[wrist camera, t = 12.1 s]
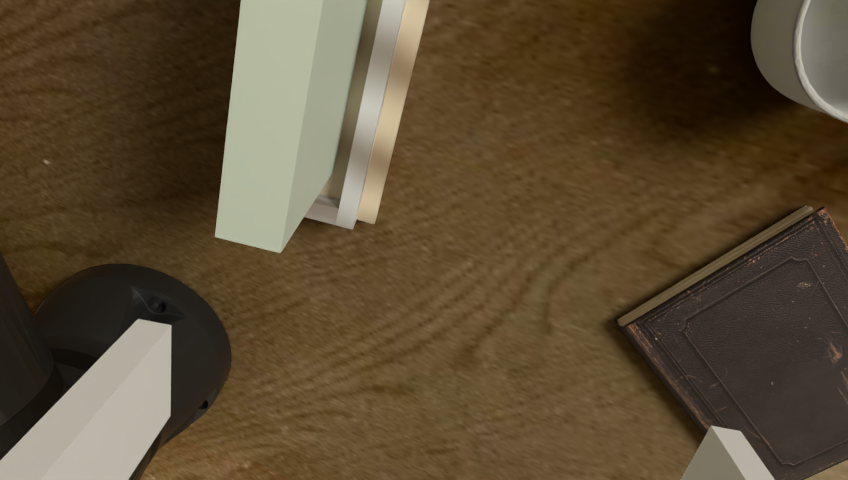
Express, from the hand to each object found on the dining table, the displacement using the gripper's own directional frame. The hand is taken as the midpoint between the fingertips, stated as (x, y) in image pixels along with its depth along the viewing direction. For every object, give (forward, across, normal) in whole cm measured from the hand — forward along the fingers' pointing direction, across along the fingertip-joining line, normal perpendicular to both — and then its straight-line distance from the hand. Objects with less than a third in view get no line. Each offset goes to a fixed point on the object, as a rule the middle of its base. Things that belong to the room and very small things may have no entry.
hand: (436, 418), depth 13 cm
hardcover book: (+27, +30, -11) cm, 42 cm away
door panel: (+24, -8, +6) cm, 26 cm away
